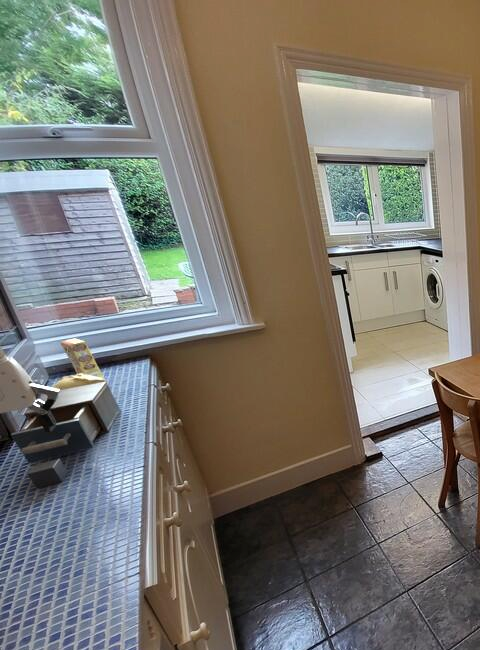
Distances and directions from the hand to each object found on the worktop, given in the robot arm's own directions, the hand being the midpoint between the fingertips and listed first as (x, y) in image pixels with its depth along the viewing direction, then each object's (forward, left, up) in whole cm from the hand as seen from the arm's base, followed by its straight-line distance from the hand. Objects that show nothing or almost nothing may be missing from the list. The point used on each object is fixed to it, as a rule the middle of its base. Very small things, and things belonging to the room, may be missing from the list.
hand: (24, 435), depth 86 cm
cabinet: (-1, +29, -12) cm, 31 cm away
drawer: (-1, +15, -11) cm, 19 cm away
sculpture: (-4, +45, -12) cm, 47 cm away
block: (0, 0, -12) cm, 12 cm away
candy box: (-8, +71, -12) cm, 72 cm away
